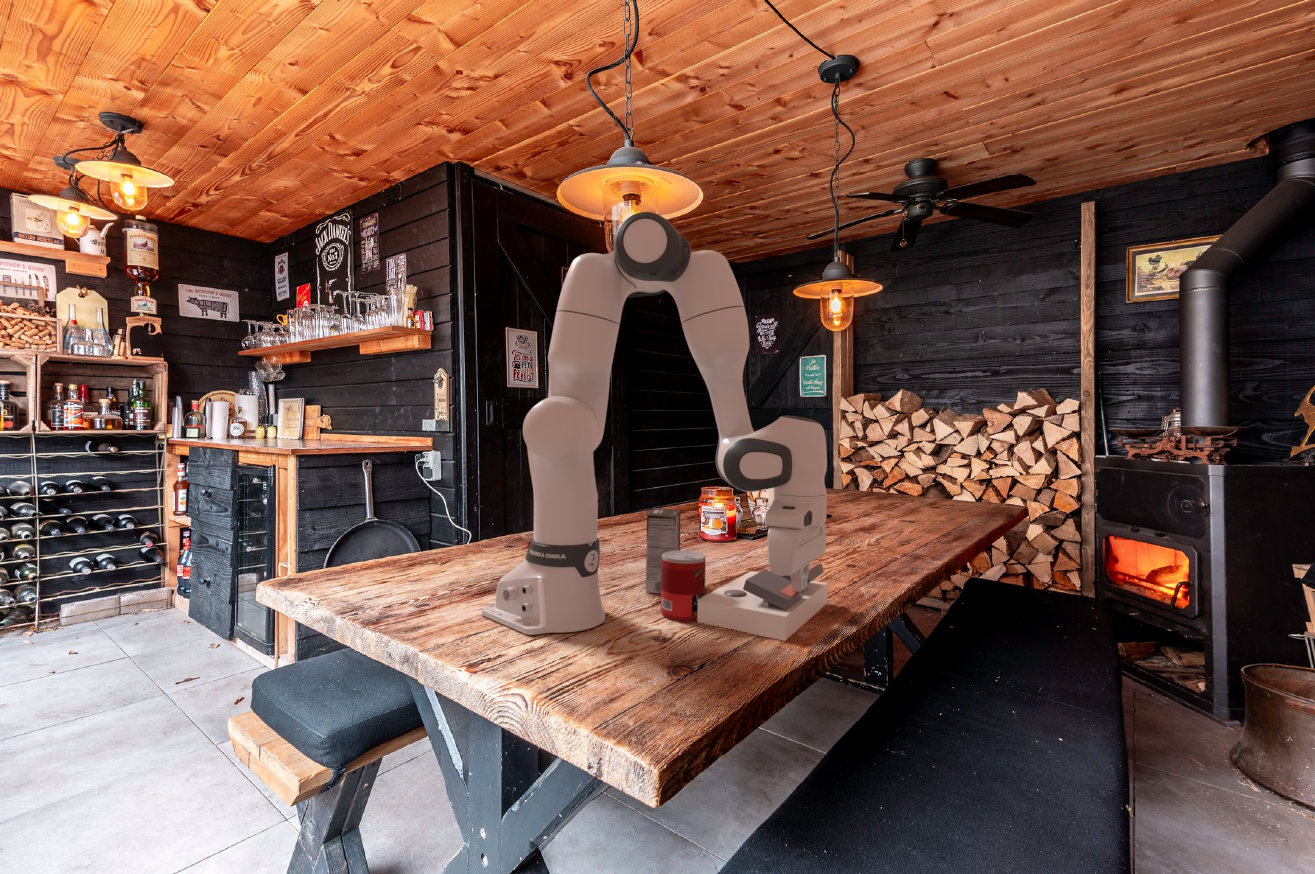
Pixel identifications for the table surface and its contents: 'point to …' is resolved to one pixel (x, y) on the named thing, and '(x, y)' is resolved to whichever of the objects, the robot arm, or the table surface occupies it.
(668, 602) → the canned food
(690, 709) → the table surface
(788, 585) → the rocker near
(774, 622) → the beige flat block
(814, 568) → the rocker far
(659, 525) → the coffee box
